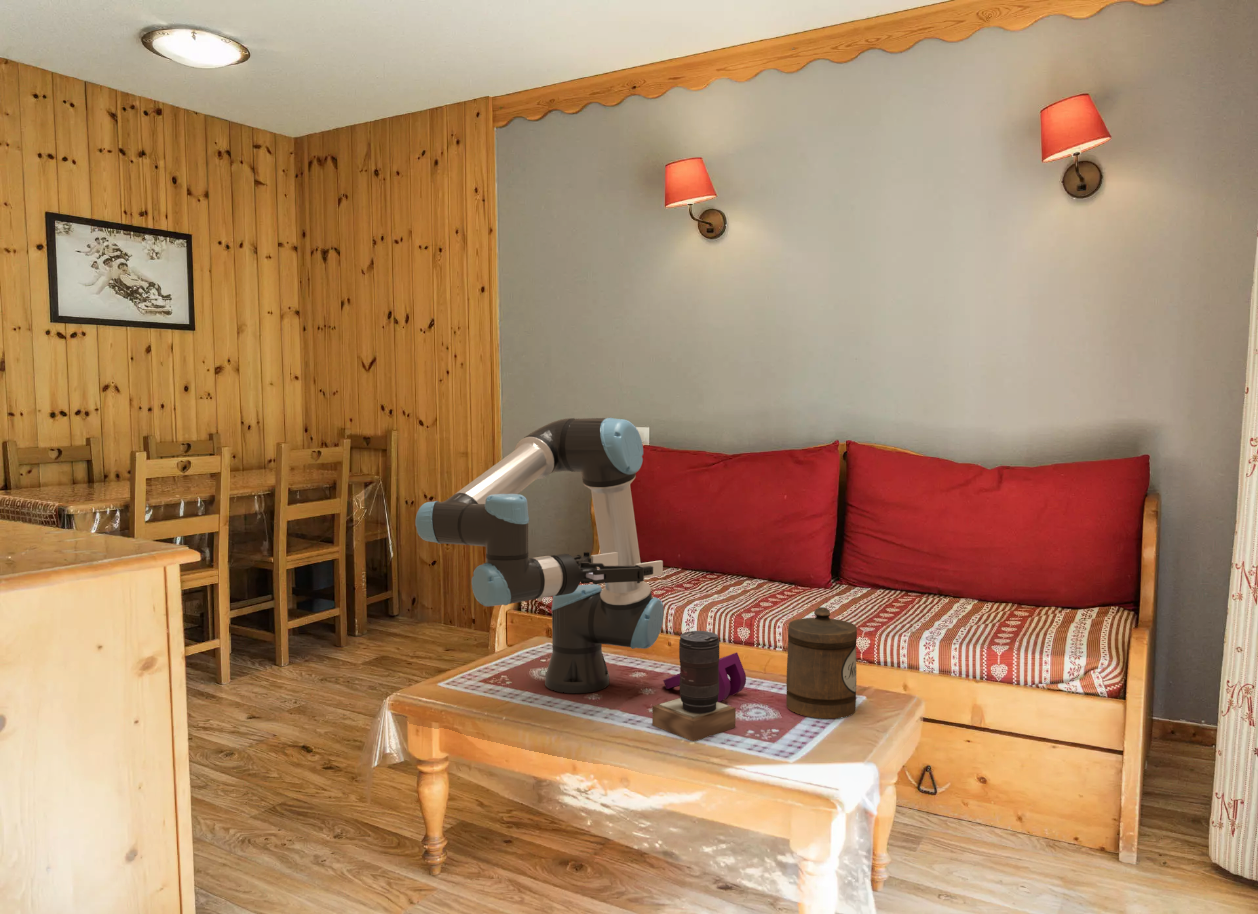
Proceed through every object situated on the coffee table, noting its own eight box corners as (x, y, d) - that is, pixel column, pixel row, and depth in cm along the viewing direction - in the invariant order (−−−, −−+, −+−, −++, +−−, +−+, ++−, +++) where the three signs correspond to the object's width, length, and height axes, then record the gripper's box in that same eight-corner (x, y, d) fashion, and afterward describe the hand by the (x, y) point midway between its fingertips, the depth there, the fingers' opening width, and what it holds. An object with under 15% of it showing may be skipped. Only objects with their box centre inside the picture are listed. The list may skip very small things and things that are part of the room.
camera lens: (671, 710, 176) (671, 636, 176) (691, 699, 183) (691, 628, 182) (707, 718, 172) (707, 642, 171) (726, 706, 179) (726, 633, 178)
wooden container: (865, 718, 184) (866, 615, 183) (795, 720, 183) (796, 616, 182) (844, 696, 199) (845, 599, 198) (779, 697, 198) (780, 600, 197)
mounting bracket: (668, 718, 201) (730, 699, 191) (655, 683, 203) (715, 661, 193) (691, 707, 209) (751, 687, 199) (678, 673, 211) (737, 652, 201)
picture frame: (652, 725, 180) (652, 704, 180) (693, 712, 188) (693, 691, 188) (693, 741, 171) (693, 719, 171) (735, 727, 179) (735, 705, 179)
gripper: (515, 586, 172) (599, 573, 186) (594, 607, 153) (681, 591, 167) (514, 548, 172) (599, 537, 186) (594, 564, 153) (681, 551, 167)
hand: (638, 562), depth 176 cm, fingers open, 13 cm apart
